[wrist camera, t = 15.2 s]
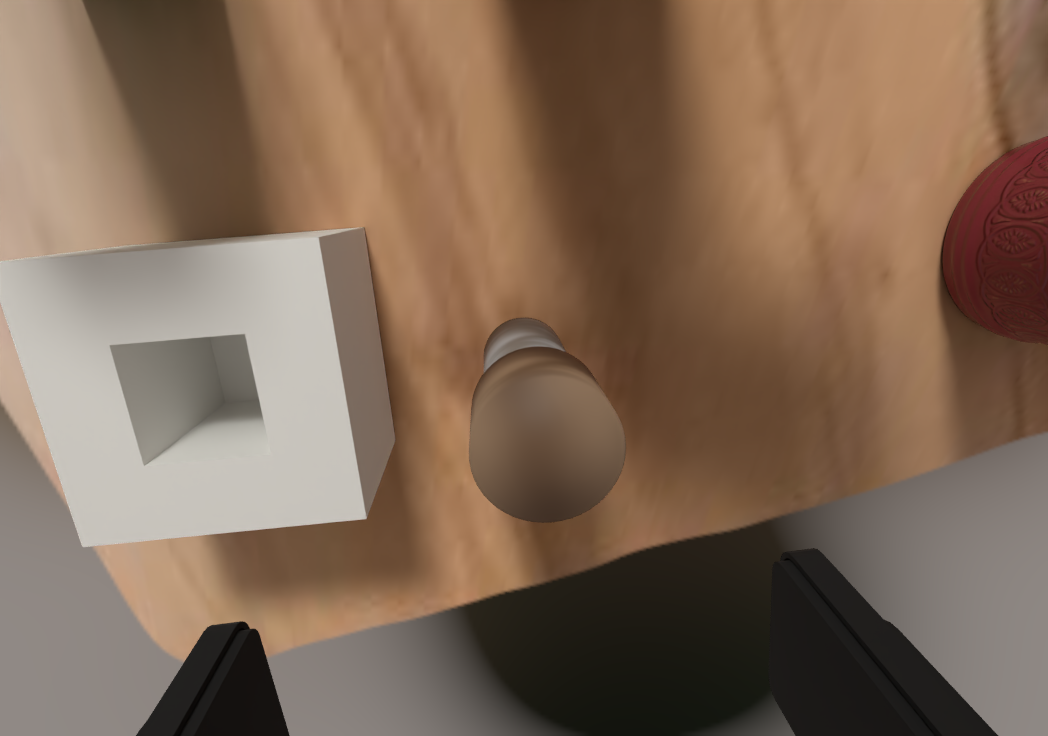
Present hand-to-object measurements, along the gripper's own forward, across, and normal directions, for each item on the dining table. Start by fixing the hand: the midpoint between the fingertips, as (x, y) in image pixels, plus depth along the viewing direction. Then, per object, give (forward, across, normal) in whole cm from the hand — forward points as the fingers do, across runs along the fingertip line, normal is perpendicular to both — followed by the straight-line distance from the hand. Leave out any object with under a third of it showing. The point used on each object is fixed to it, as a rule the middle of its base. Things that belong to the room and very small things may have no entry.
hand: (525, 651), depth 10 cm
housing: (+28, +14, 0) cm, 31 cm away
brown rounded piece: (+28, -2, +3) cm, 28 cm away
